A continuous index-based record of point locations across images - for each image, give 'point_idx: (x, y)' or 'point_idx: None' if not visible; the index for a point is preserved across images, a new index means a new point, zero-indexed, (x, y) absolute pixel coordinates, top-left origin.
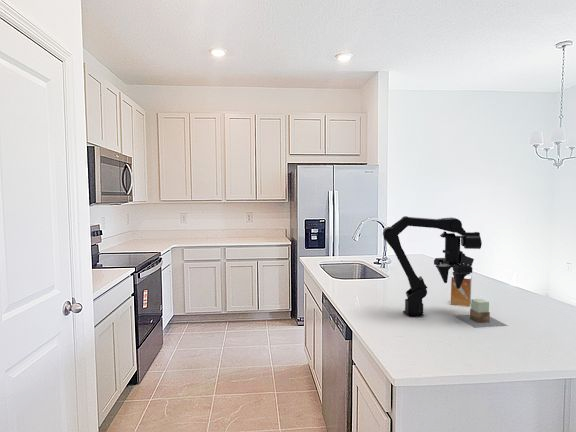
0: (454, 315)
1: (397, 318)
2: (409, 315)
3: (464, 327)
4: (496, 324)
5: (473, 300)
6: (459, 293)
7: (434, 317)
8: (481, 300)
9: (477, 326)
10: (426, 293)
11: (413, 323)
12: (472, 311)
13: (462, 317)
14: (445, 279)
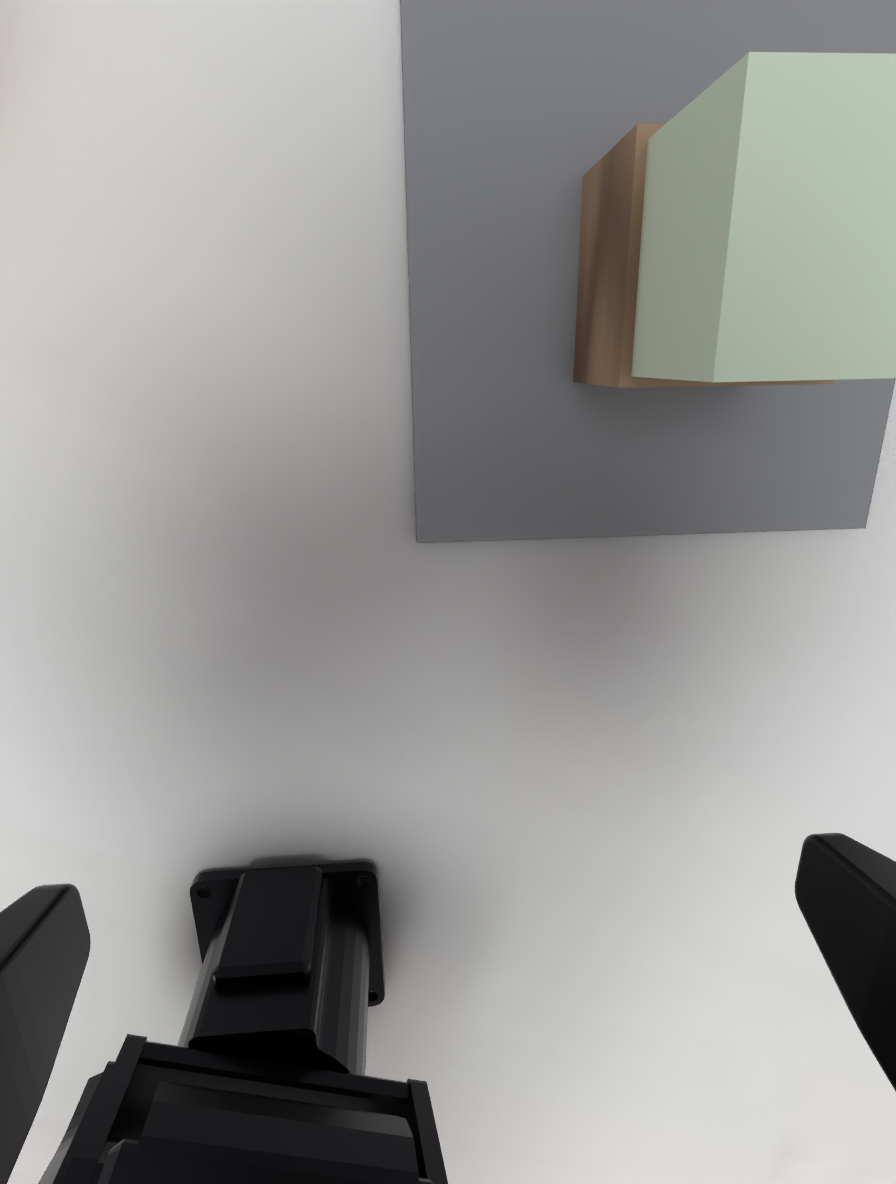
0: (421, 527)
1: None
2: (374, 1005)
3: (786, 611)
4: None
5: (786, 378)
6: None
7: (421, 771)
8: (869, 177)
9: (848, 468)
10: (428, 1181)
11: (556, 1009)
12: (675, 385)
13: (515, 463)
14: (14, 1049)
